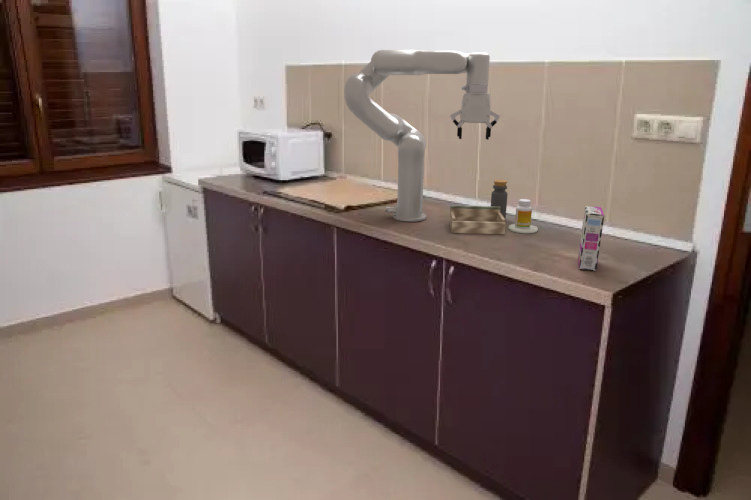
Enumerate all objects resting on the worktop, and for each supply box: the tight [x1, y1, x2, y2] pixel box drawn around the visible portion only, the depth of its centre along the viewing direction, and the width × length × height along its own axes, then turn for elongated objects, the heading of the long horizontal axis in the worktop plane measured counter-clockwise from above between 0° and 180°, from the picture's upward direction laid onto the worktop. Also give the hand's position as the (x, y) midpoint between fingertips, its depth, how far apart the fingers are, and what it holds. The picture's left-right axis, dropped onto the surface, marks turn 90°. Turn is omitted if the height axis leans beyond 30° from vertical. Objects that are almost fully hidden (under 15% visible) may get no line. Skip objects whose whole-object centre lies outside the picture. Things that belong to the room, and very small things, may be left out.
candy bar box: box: [577, 205, 605, 272], centre depth 167 cm, size 11×5×16 cm, turn 163°
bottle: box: [490, 179, 508, 220], centre depth 217 cm, size 6×6×15 cm
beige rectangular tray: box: [448, 204, 506, 235], centre depth 206 cm, size 18×13×7 cm
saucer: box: [508, 223, 539, 235], centre depth 206 cm, size 10×10×1 cm
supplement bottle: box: [514, 198, 533, 229], centre depth 204 cm, size 5×5×10 cm
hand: (473, 138), depth 209 cm, fingers open, 9 cm apart
